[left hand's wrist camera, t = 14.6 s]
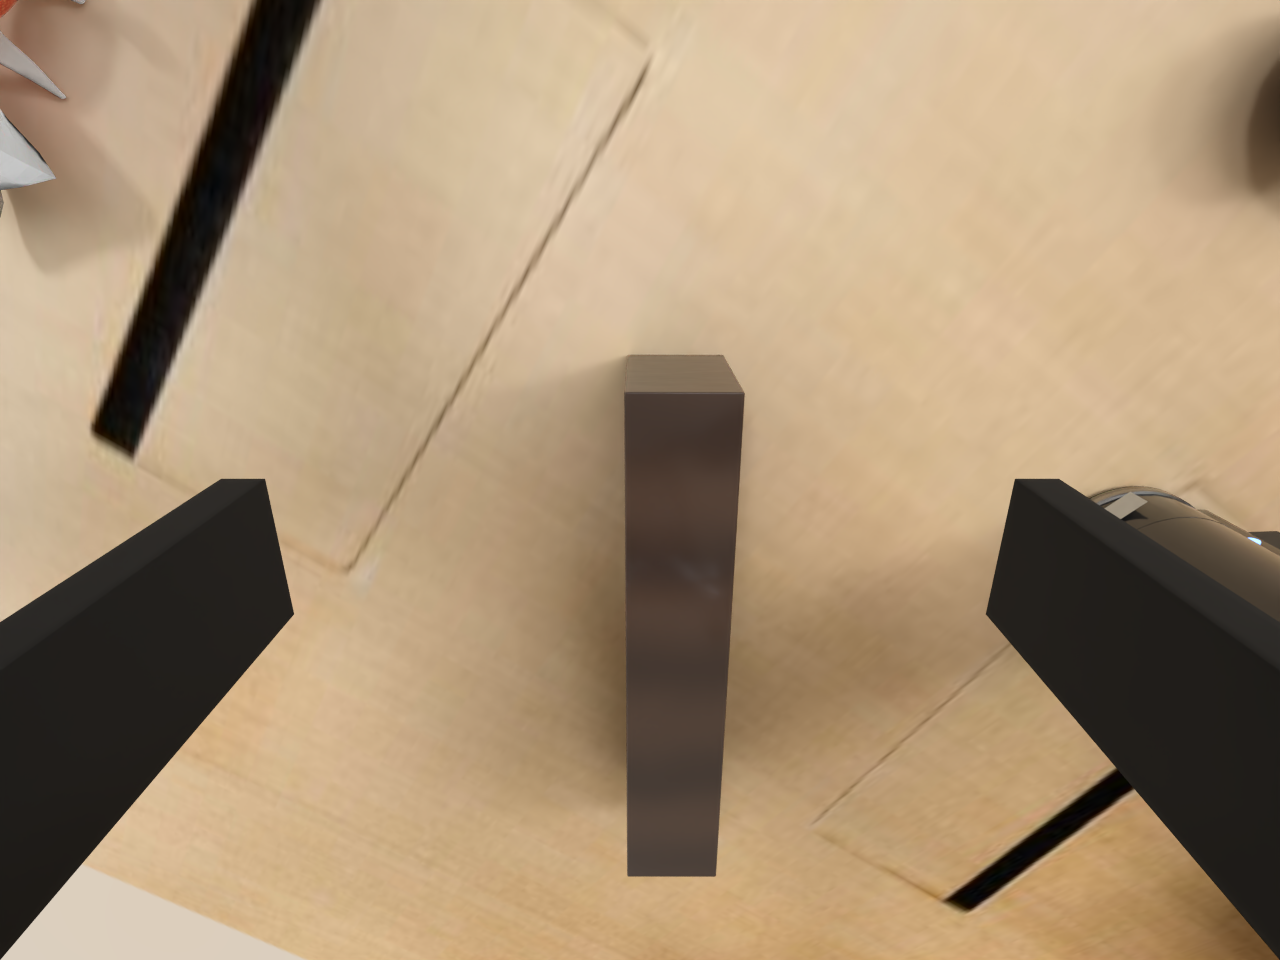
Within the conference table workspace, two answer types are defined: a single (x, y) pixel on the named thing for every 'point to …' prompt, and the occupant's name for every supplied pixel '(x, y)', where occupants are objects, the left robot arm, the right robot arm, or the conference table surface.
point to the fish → (3, 149)
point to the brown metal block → (678, 603)
